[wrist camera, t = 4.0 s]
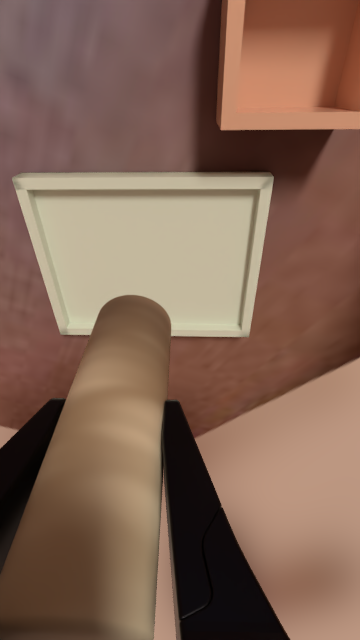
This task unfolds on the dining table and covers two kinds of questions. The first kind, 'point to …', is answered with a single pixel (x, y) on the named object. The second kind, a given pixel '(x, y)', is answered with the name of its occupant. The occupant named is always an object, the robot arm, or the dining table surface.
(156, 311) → the dowel
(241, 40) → the orange open box
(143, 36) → the dining table surface
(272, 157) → the dining table surface
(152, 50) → the dining table surface
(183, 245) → the tray
